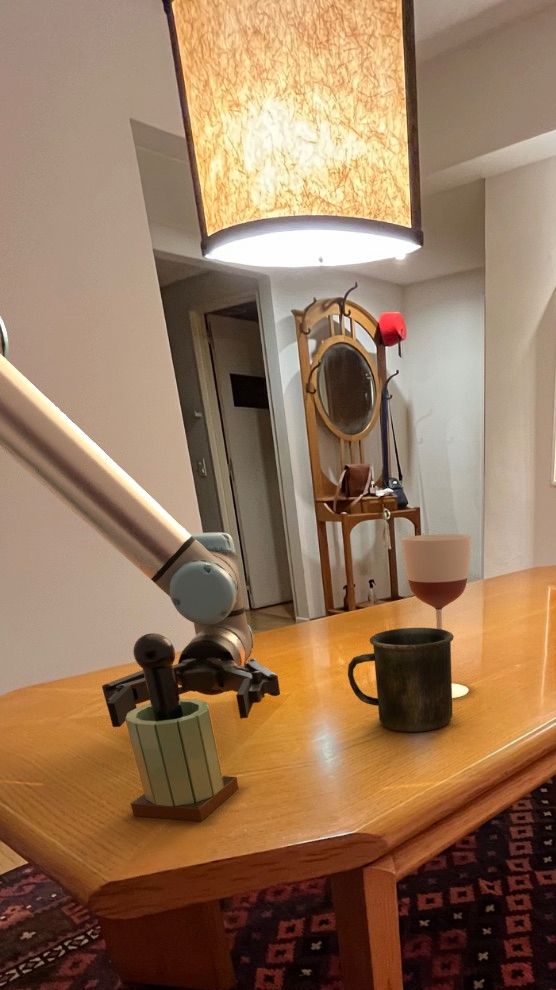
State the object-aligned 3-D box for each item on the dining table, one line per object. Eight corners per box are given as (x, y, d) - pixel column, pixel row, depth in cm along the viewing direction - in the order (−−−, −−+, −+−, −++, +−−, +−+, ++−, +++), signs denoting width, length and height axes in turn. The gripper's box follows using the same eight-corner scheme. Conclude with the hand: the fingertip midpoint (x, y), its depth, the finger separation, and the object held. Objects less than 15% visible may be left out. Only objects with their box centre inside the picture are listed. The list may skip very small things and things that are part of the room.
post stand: (133, 816, 71) (86, 642, 63) (175, 784, 78) (138, 624, 70) (201, 821, 70) (163, 644, 61) (238, 788, 77) (208, 625, 68)
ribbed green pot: (130, 803, 71) (108, 722, 67) (173, 772, 78) (156, 697, 74) (199, 808, 69) (181, 725, 65) (236, 776, 76) (222, 700, 72)
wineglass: (475, 698, 104) (473, 539, 94) (410, 701, 103) (402, 541, 93) (469, 681, 112) (467, 533, 102) (409, 684, 112) (401, 535, 101)
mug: (462, 730, 91) (461, 642, 86) (355, 740, 89) (346, 650, 84) (448, 705, 101) (445, 625, 96) (350, 714, 99) (342, 632, 93)
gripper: (308, 682, 96) (298, 734, 77) (125, 693, 93) (68, 751, 74) (301, 628, 92) (289, 670, 73) (111, 639, 90) (48, 685, 71)
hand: (178, 711), depth 74 cm, fingers open, 13 cm apart
